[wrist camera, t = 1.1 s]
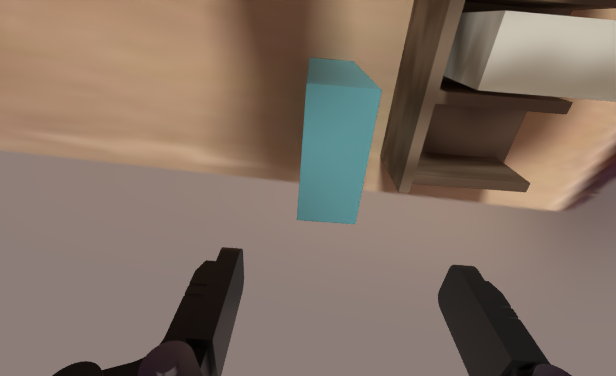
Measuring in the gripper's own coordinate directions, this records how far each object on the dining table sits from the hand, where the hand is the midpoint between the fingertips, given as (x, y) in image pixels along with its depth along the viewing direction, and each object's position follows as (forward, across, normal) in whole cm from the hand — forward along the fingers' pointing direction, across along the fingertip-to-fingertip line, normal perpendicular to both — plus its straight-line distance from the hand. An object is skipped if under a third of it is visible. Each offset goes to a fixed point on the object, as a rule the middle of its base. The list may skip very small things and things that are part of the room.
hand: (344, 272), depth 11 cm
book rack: (+24, -14, -3) cm, 28 cm away
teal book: (+24, 0, 0) cm, 24 cm away
